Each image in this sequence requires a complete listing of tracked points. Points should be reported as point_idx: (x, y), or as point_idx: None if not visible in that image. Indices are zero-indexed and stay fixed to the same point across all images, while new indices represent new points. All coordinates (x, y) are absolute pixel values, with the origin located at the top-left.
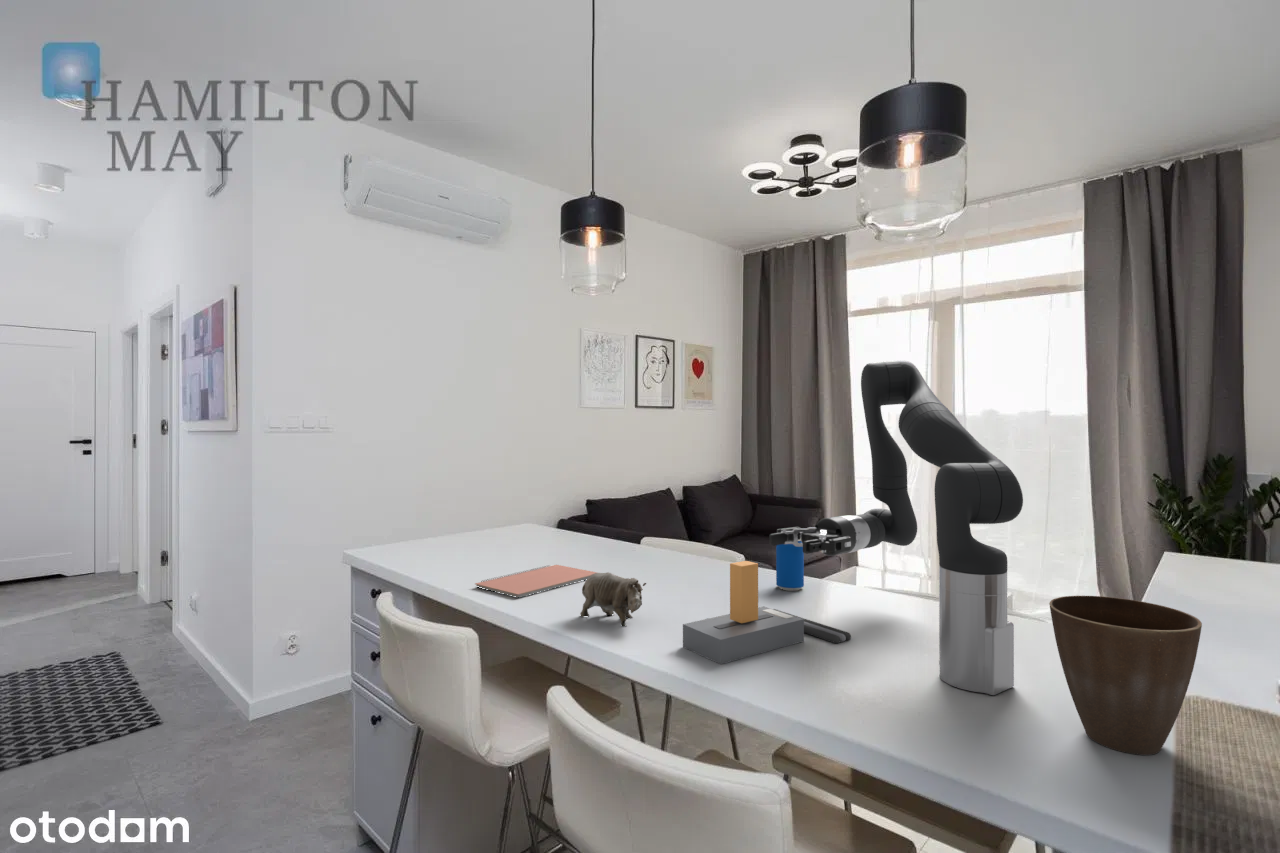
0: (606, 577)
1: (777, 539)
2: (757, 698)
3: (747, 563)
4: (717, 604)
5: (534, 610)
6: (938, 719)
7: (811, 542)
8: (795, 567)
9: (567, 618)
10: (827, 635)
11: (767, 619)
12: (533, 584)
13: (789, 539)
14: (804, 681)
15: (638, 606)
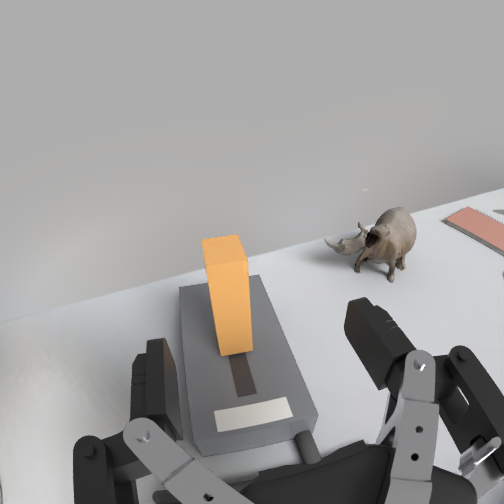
0: (388, 212)
1: (361, 338)
2: (100, 302)
3: (219, 253)
4: (463, 394)
5: None
6: None
7: (147, 369)
8: None
9: None
10: None
11: (225, 378)
12: (479, 229)
13: (452, 430)
14: (91, 355)
15: (337, 249)
